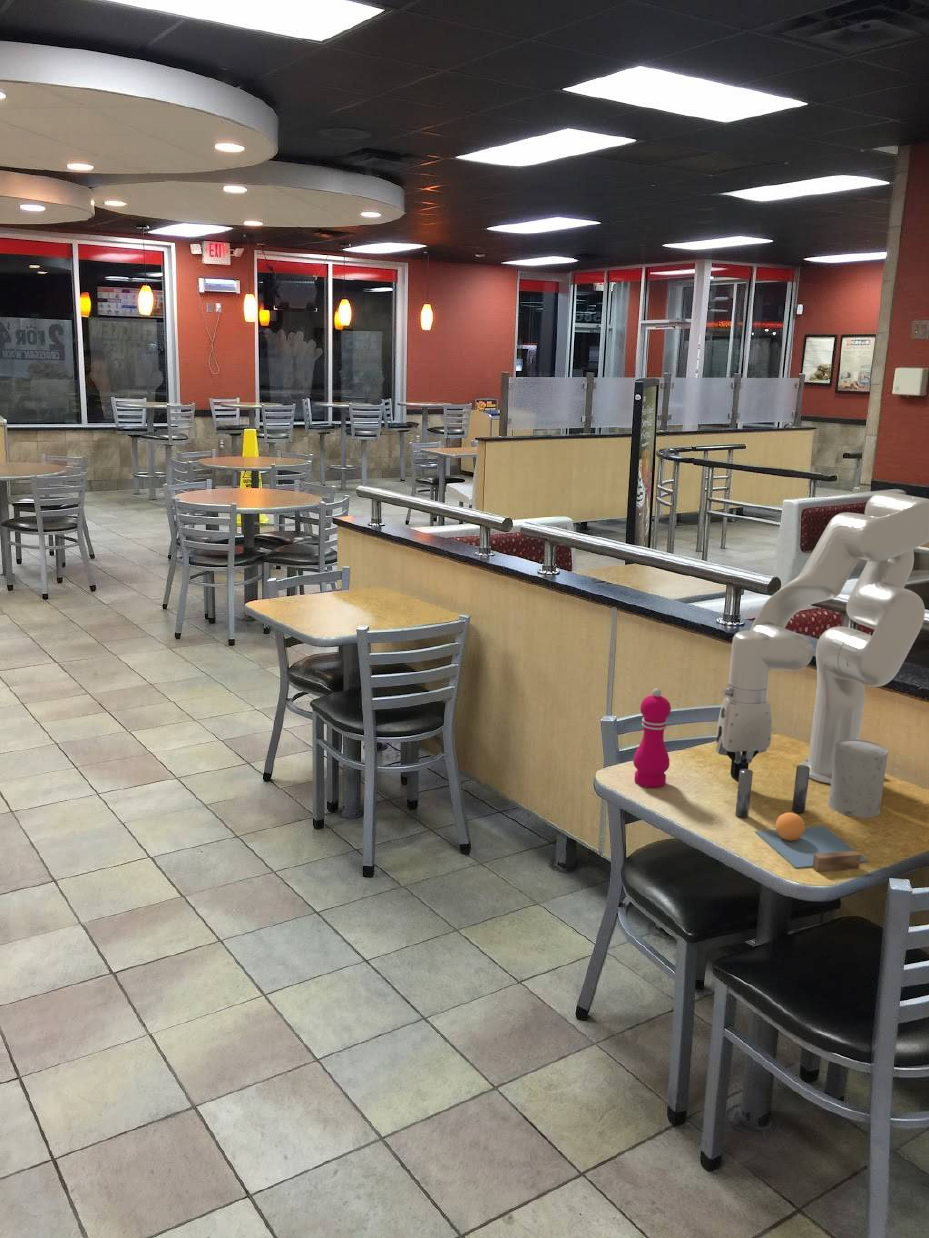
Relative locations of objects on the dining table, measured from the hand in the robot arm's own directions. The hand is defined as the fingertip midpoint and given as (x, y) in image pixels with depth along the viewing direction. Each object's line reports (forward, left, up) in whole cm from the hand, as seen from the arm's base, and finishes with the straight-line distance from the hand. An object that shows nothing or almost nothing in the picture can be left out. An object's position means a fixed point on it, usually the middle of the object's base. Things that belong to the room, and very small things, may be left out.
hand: (738, 779), depth 206 cm
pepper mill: (+17, -5, -2) cm, 18 cm away
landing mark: (0, +27, -2) cm, 27 cm away
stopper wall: (0, +35, -2) cm, 35 cm away
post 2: (-6, +13, -2) cm, 14 cm away
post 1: (+6, +13, -2) cm, 14 cm away
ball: (+2, +24, +1) cm, 24 cm away
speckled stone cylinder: (-18, +13, -2) cm, 22 cm away
